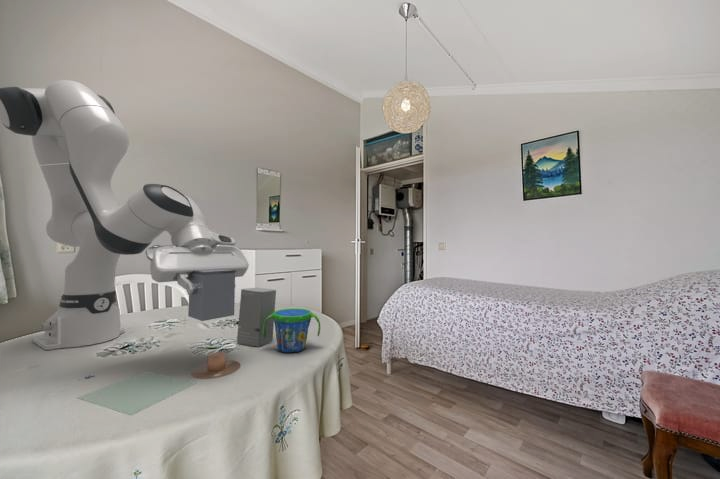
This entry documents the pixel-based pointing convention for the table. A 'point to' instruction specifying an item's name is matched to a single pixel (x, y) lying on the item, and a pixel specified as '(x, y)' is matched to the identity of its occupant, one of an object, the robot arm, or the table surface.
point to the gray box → (212, 294)
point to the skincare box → (256, 316)
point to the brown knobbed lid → (215, 367)
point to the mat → (137, 392)
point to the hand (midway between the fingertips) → (213, 290)
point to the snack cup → (291, 328)
